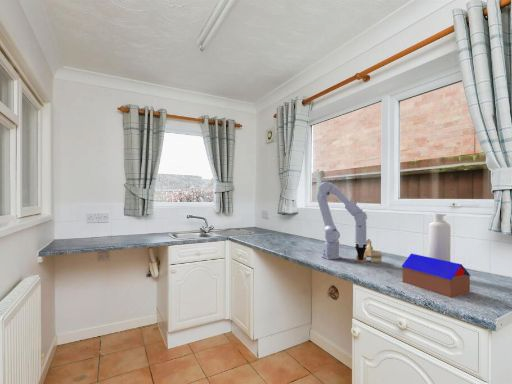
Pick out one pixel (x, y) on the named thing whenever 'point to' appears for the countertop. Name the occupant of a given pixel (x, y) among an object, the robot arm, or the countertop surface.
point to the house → (436, 275)
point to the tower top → (375, 254)
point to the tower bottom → (376, 260)
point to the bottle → (439, 238)
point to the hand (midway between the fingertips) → (360, 258)
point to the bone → (368, 249)
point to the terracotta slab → (361, 260)
